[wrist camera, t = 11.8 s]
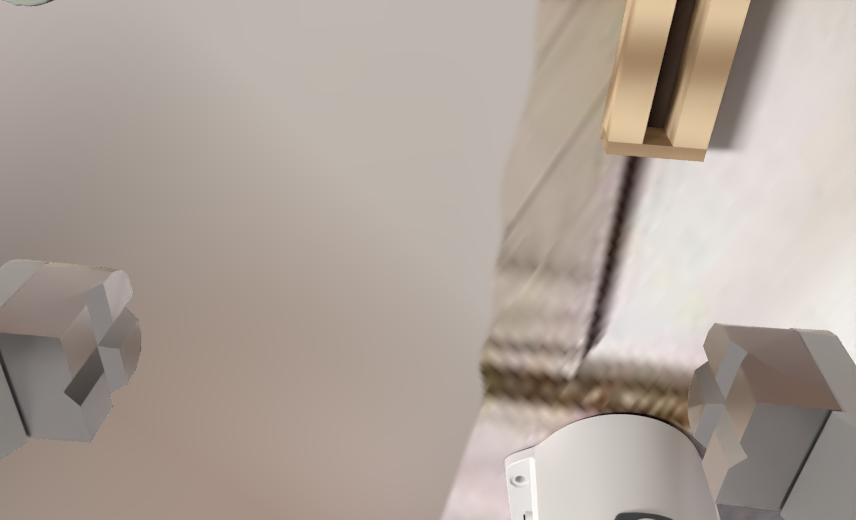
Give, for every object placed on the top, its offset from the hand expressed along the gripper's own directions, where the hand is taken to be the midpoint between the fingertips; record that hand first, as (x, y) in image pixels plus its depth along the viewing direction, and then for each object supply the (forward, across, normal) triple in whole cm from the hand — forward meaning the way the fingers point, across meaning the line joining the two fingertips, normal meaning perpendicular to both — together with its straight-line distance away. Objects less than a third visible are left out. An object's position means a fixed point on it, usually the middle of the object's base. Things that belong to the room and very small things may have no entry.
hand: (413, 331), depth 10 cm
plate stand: (+35, -12, +6) cm, 38 cm away
